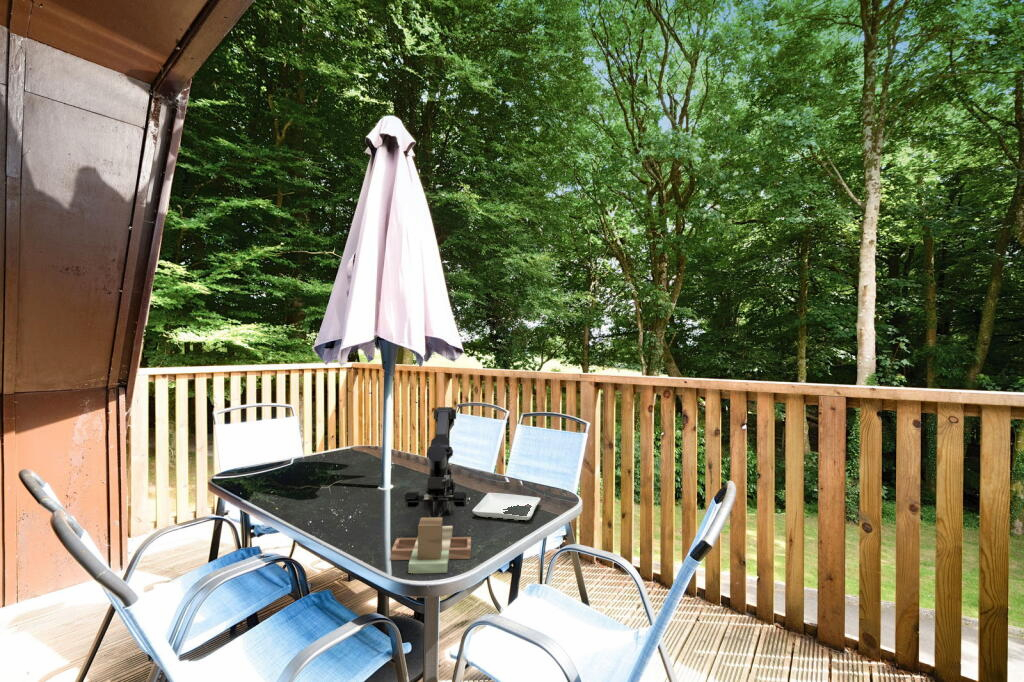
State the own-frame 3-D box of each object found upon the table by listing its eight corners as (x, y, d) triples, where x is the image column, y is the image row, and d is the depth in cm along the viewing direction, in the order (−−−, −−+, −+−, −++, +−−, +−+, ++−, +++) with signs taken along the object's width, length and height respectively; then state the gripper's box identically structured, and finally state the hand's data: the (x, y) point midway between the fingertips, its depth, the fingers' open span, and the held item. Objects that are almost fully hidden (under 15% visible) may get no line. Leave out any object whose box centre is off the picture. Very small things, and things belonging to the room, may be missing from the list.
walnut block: (420, 550, 129) (420, 517, 129) (441, 549, 129) (442, 517, 130) (417, 559, 123) (418, 525, 123) (440, 559, 123) (440, 525, 124)
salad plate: (530, 526, 156) (530, 515, 156) (470, 519, 161) (471, 510, 161) (541, 505, 176) (541, 496, 176) (487, 500, 181) (488, 492, 181)
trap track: (401, 534, 146) (401, 526, 146) (471, 533, 148) (471, 525, 148) (385, 574, 120) (385, 564, 120) (469, 572, 122) (469, 562, 122)
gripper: (405, 465, 141) (398, 514, 130) (466, 464, 143) (465, 513, 132) (409, 483, 149) (402, 531, 138) (467, 482, 150) (465, 530, 139)
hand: (433, 526), depth 137 cm, fingers closed
